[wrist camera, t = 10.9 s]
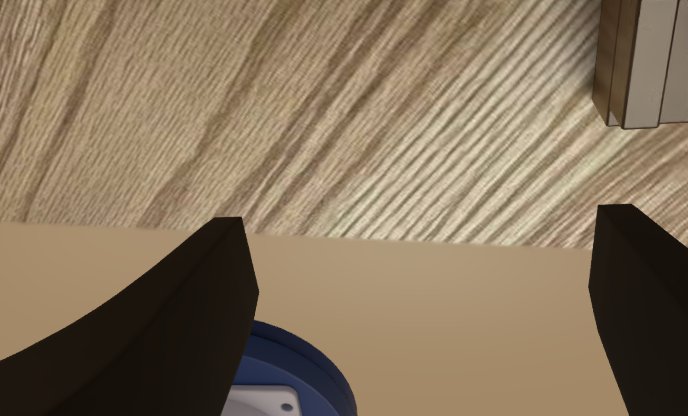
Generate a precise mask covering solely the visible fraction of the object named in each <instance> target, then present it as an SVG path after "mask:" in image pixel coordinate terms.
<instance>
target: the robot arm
mask: <svg viewBox="0 0 688 416" xmlns="http://www.w3.org/2000/svg"><path fill="white" fill-rule="evenodd" d="M588 288H589V293H590V298H591V302H592V307H593V312H594V316H595V320H596V325H597V329H598V333H599V336H600V338H601V341H602V344H603V347H604V349H605V352H606V355H607V358H608V360H609V363H610V366H611V368H612V371H613V374H614V376H615V379H616V381H617V384H618V387H619V389H620V392H621V395H622V398H623V400H624V402H625V405H626V408H627V411H628V413H629V416H688V248H687V247H686V246H684V245H683V244H682V243H681V242H679V241H678V240H677V239H675V238H674V237H673V236H672V235H670V234H669V233H668V232H667V231H665V230H664V229H663V228H662V227H660V226H659V225H658V224H657V223H655V222H654V221H653V220H652V219H650V218H649V217H648V216H647V215H645V214H644V213H643V212H642V211H640V210H639V209H638V208H636V207H635V206H634V205H632V204H608V205H598V209H597V217H596V226H595V234H594V243H593V251H592V260H591V269H590V278H589V286H588ZM258 295H259V289H258V285H257V280H256V276H255V272H254V268H253V264H252V259H251V255H250V251H249V246H248V242H247V238H246V233H245V229H244V225H243V221H242V217H215V218H213V219H212V220H210V221H209V222H207V223H206V224H205V225H203V226H202V227H201V228H200V229H198V230H197V231H196V232H195V233H194V234H192V235H191V236H190V237H189V238H188V239H186V240H185V241H184V242H183V243H182V244H181V245H179V246H178V247H177V248H176V249H174V250H173V251H172V252H171V253H170V254H169V255H167V256H166V257H165V258H163V259H162V260H161V261H160V262H159V263H157V264H156V265H155V266H154V267H152V268H151V269H150V270H149V271H147V272H146V273H145V274H143V275H142V276H141V277H139V278H138V279H137V280H135V281H134V282H133V283H131V284H130V285H129V286H127V287H126V288H125V289H124V290H122V291H121V292H119V293H118V294H117V295H115V296H114V297H112V298H111V299H110V300H108V301H107V302H105V303H104V304H102V305H101V306H99V307H98V308H96V309H95V310H93V311H92V312H90V313H88V314H87V315H85V316H83V317H82V318H80V319H79V320H77V321H76V322H74V323H72V324H70V325H69V326H67V327H65V328H63V329H61V330H60V331H58V332H56V333H54V334H52V335H50V336H49V337H46V338H45V339H43V340H41V341H39V342H37V343H35V344H33V345H31V346H30V347H28V348H26V349H24V350H22V351H20V352H18V353H16V354H14V355H12V356H9V357H7V358H5V359H3V360H1V361H0V416H302V412H301V408H300V403H299V398H298V394H297V392H296V390H295V389H294V388H292V387H290V386H281V385H232V384H233V381H234V378H235V375H236V373H237V370H238V367H239V364H240V362H241V359H242V356H243V353H244V350H245V348H246V345H247V342H248V339H249V336H250V333H251V329H252V325H253V320H254V316H255V311H256V306H257V301H258Z"/></svg>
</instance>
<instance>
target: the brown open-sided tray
mask: <svg viewBox="0 0 688 416" xmlns="http://www.w3.org/2000/svg"><path fill="white" fill-rule="evenodd" d="M592 101H593V103H594V105H595V106H596V108H597V110H598V112H599V114H600V115H601V117H602V119H603V121H604V123H605V124H606V126H608V127H610V126H620V127H621V129H624V130H628V129H648V128H658V127H659V124H668V123H688V0H602V10H601V20H600V29H599V39H598V49H597V59H596V69H595V79H594V89H593V99H592Z"/></svg>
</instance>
